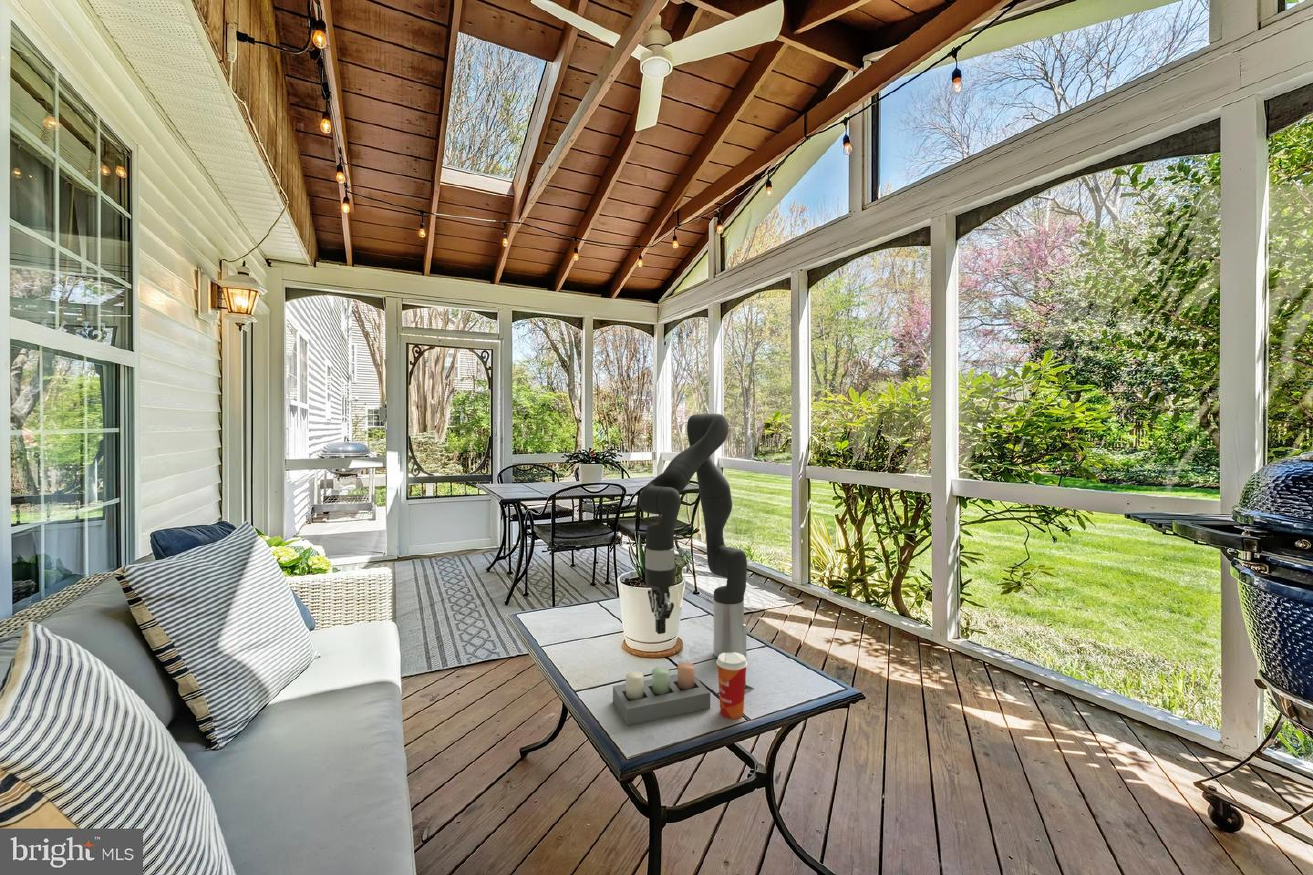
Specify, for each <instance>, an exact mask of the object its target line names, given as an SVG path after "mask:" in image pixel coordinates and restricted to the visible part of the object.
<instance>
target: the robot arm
mask: <svg viewBox="0 0 1313 875" xmlns="http://www.w3.org/2000/svg"><path fill="white" fill-rule="evenodd" d="M729 428H730V427H729V422H728V420H727V418H726V416H724V415H723V414H720V413H697V414H691V415H690V417H689V418H688V419H687V423H686V432H687V434H686V435H687V439H688V445H689V447H687V448H686V449H684V450H682V451H681V452H680V453H678V454H677V455H675V457H673V458H672V459H671V460H670V462H669V464H668V465H667V466H666V468H665V469H664V470H663V472H662V473H660V474H659V475H657V476H656V477H655V478H654V479H652V480H651V481H649V482H648V483H647V484H646V485H645V486H644V487H643V488H642V490H641V491H640V493H639V497H638V505H639V508H640V510H641V511H642V512H643V513H645V514H650V515H651V514H652V515H660V516H661V517H660V521H659V522H654V523H651V524H649V525H647V527H646V530H645V556H644V558H645V559H644V564H645V566H644V568H645V572H644V573H645V578H644V579H645V580H644V581H645V584H646V585H647V586H649V587H651V589H648V591H647V596H648V599H649V604H650V609H651V613H653V617H654V618H655V620H654V622H655V624H654V625H655V633H657V634H658V635H663V634H665V633H667V632H666V631H667V630H666V624H667V623H666V622H667V621H666V620H667V619H668V620H669V619H670V617H671V615H672V612H673V610H674V607H675V603H674V602H670V599H671V593H670V587H671V586H674V585H675V584H676V583H675V582H676V555H675V528H676V524H677V519H678V516H679V512H680V510H681V502H682V501H681V500H682V499H681V495H680V493H681V492H683V491H684V490H685V489H686V487H687V486H688V484H689V483H690V482H691V479H692V478H693V477H694V475H695V474H696V477H697V483H698V491H699V492H698V493H699V499H700V505H701V510H702V516H703V523H704V530H705V532H704V533H705V543H706V557H707V566H708V568H709V571H710V572H711V573H712V574H713V575H715V576H718V577H722V578H726V585H722V586H718V587H716V588H715V589H714V590H713V646H712V647H713V656H714V657H716V658H717V659H718V656H719V655H720V654H722V653H727V652H732V653H733V652H736V653H740V654H742V655H744V656H745V657H746V656H747V636H748V635H747V630H748V629H747V625H746V623H745V621H744V620H745V593H746V588H747V571H748V560H747V555H746V553H745V551H744V550H742V549H740V548H735V547H731V546H726V544H725V540H724V529H725V526H726V524H727V521H728V520H729V517H730V515H731V512H732V509H733V500H732V492H731V488H730V484H729V482H728V480H727V478H726V477H725V476H724V474H723V473H722V472H721V471H720V469H719V468H718V466H716V464H715V463H714V461H713V458H712V457H711V456H713V454H714V453H715V452H716V451H718V449H719V448H720V447H722V445H723V444H724V443H725V442H726V440H727V438H728V435H729Z"/></svg>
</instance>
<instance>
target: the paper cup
mask: <svg viewBox="0 0 1313 875" xmlns="http://www.w3.org/2000/svg"><path fill="white" fill-rule="evenodd" d="M716 665H717V674H718V676H717V677H718V693H719V694H718V696H719V697H718V698H719V707H720V708H719V709H720V715H721V716H722V717H724V718H726V719H731V720H736V719H740V718H742V717H743V715H744V708H745V706H744V705H745V695H746V694H745V679H746V676H747V667H748V661H747V659H746V656H744V655H742V654H740V653H736V652H733V653H732V652H727V653H722V654H720V655H719V656H718V658H717V659H716Z"/></svg>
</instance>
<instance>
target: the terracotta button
mask: <svg viewBox="0 0 1313 875" xmlns="http://www.w3.org/2000/svg"><path fill="white" fill-rule="evenodd" d="M695 672H696V671H695V665H694V664H693V663H691V662H681V663H679V664H678V665H677V674H678V687H679V688H681V689H685V690H688V689H692V688H694V686H695V677H696V676H695Z"/></svg>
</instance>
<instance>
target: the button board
mask: <svg viewBox="0 0 1313 875" xmlns="http://www.w3.org/2000/svg"><path fill="white" fill-rule="evenodd" d="M612 702H613V704H614V706H615V707H616V709H617V711H618V713H619V715H620V716H621V718H622V719H623V721H624V723H625V725H626V726H627V727H628V726H632V725H638V724H642V723H646V722H647V723H648V722H652V721H655V720H660V719H665V718H670V717H675V716H680V715H685V714H689V713H693V712H694V713H695V712H698V711H703V710H707V709H708V710H709V709H711V692H710V691H709V690H708V689H707V688H706V687H705V685H703V683H702V682H701V681H700V680H699V679H698V678H697V677H696V676H695V686H694V688H692V689H688V690H685V689H681V688H679V687H678V673H677V674H673V675H670V691H669V692H668V693H666V694H662V695H660V694H655V693H654V692H653V691H652V678H651V679H645V680H644V696H643V697H642V698H640V699H637V700H632V699H629V698H627V697H626V683H625V684H624V683H623V684H619V685H618V684H617V685H613V686H612Z"/></svg>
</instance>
